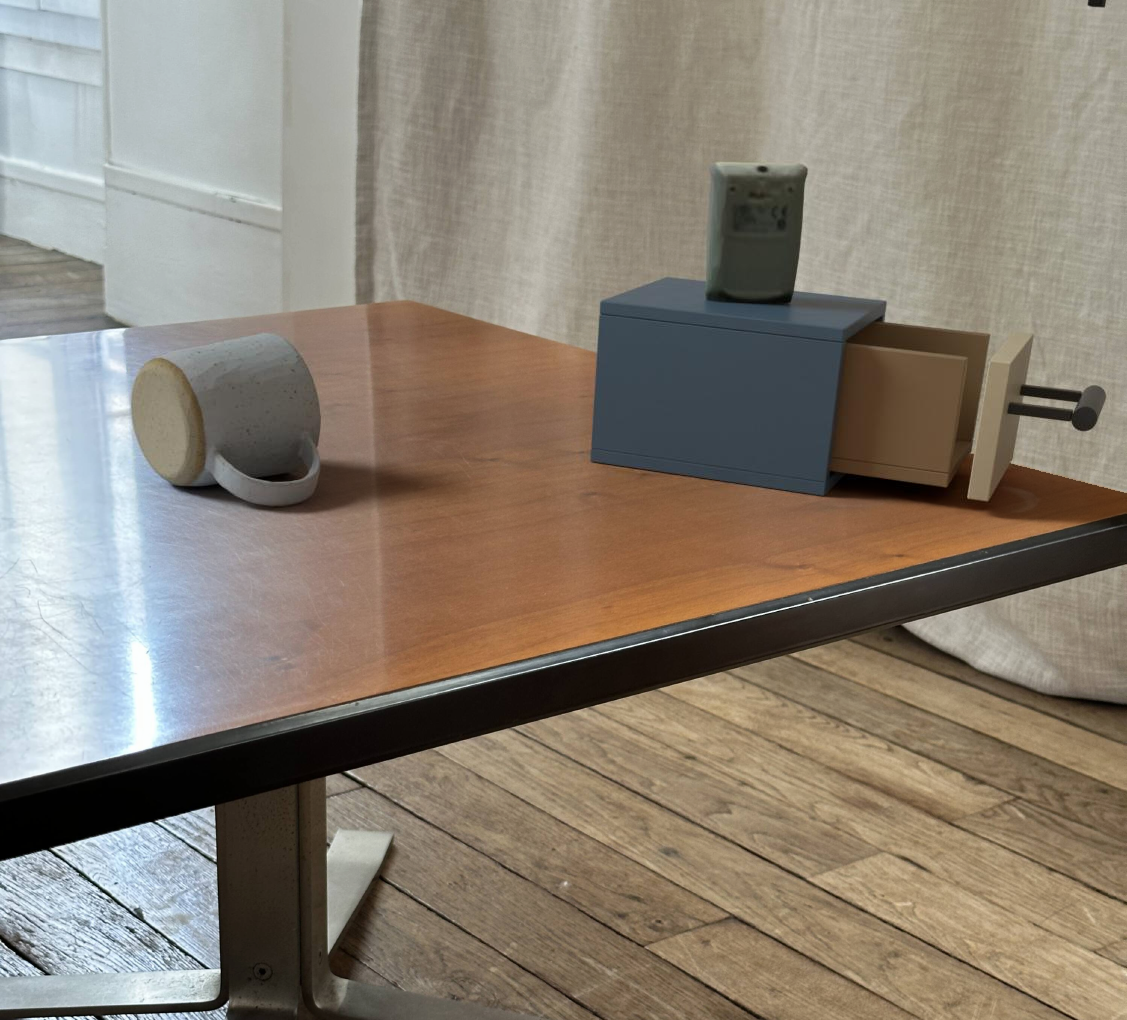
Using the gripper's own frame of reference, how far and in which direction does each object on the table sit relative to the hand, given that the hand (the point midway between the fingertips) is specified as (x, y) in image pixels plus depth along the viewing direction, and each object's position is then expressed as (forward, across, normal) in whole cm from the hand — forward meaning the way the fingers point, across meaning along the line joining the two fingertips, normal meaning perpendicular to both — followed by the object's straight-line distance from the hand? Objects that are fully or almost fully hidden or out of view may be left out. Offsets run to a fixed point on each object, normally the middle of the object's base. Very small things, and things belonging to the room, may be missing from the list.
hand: (973, 1), depth 92 cm
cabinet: (+27, +10, +6) cm, 29 cm away
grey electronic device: (+17, +10, +6) cm, 21 cm away
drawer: (+26, -2, +6) cm, 27 cm away
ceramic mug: (+27, +32, +28) cm, 50 cm away
